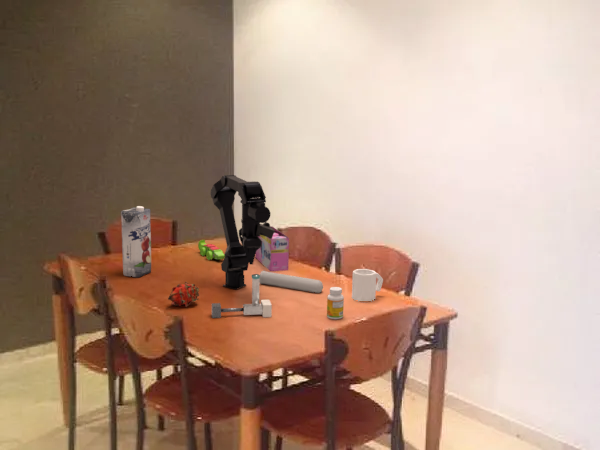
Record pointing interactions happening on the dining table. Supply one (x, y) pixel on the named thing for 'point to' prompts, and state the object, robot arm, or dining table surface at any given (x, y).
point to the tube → (291, 282)
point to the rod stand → (222, 310)
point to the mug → (365, 284)
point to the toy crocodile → (210, 251)
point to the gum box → (274, 251)
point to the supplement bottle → (335, 303)
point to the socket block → (267, 308)
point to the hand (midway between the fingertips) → (249, 260)
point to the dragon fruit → (184, 294)
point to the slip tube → (254, 298)
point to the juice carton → (136, 241)
